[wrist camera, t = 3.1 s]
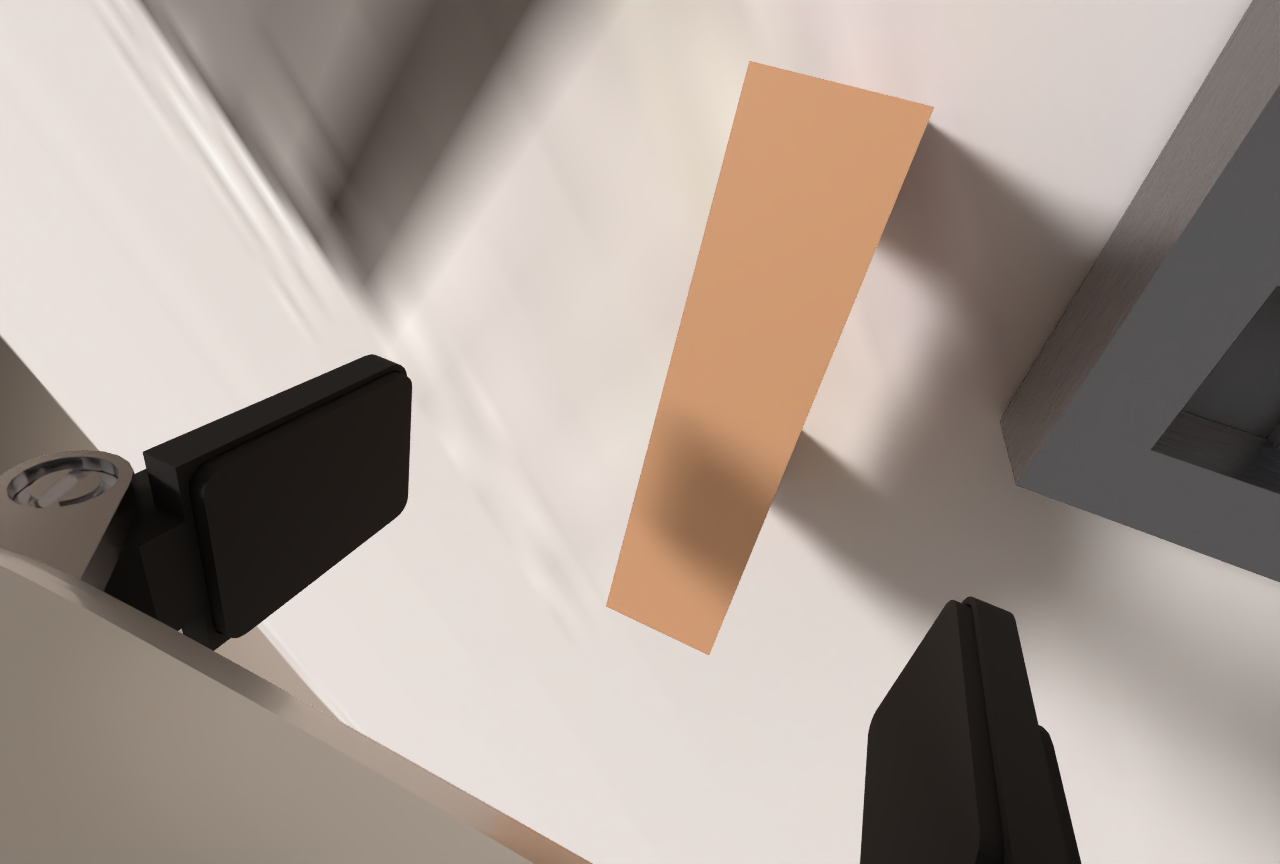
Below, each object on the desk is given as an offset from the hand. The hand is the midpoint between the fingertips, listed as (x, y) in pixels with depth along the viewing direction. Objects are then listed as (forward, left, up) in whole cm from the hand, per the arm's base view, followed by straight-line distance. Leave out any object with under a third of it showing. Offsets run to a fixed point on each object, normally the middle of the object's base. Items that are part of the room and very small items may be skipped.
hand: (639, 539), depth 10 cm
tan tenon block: (0, 0, -12) cm, 12 cm away
